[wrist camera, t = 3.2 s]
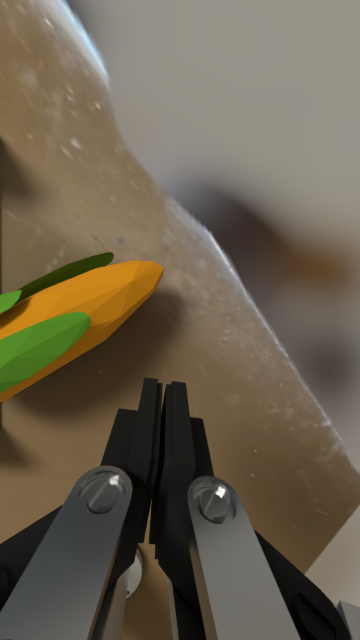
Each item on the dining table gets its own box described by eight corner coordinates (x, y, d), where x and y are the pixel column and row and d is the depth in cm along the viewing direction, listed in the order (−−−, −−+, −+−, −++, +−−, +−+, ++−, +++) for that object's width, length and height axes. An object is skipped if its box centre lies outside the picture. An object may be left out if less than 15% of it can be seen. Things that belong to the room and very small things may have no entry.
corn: (-168, 381, 14) (129, 206, 13) (-62, 333, 21) (135, 217, 20) (-65, 460, 17) (191, 318, 16) (-1, 393, 24) (177, 293, 23)
